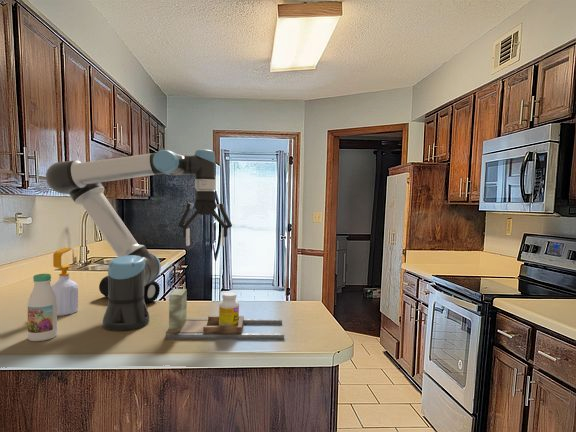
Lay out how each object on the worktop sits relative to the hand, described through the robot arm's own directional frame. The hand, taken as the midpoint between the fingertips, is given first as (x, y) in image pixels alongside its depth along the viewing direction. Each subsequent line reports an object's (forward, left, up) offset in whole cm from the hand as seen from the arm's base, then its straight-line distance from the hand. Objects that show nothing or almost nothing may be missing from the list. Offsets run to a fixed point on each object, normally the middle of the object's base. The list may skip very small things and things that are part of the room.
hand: (205, 245), depth 142 cm
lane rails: (+21, -5, -27) cm, 34 cm away
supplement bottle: (+21, -5, -27) cm, 34 cm away
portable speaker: (-38, -12, -27) cm, 48 cm away
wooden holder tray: (+16, -10, -27) cm, 32 cm away
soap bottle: (-38, -37, -27) cm, 59 cm away
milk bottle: (-16, -50, -27) cm, 59 cm away
